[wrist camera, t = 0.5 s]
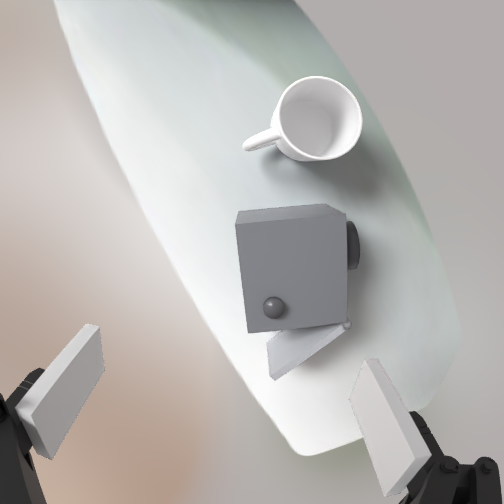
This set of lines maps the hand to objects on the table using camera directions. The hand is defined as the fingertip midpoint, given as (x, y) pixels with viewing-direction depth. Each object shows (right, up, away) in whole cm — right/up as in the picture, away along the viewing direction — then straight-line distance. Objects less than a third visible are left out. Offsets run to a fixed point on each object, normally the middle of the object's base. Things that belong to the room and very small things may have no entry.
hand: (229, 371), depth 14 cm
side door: (+8, -4, +29) cm, 30 cm away
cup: (+6, +20, +23) cm, 31 cm away
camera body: (+7, +6, +26) cm, 28 cm away
